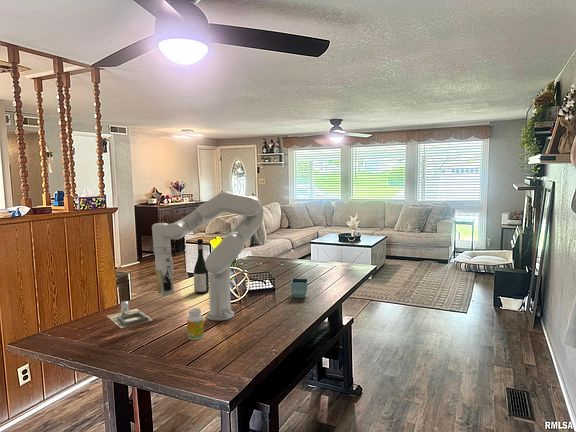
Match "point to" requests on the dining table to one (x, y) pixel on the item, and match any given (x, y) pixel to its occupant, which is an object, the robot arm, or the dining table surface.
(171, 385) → the dining table surface
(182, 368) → the dining table surface
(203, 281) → the wine bottle
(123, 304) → the steel pin
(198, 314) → the supplement bottle
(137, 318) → the board
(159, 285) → the skincare box
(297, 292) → the flower pot
